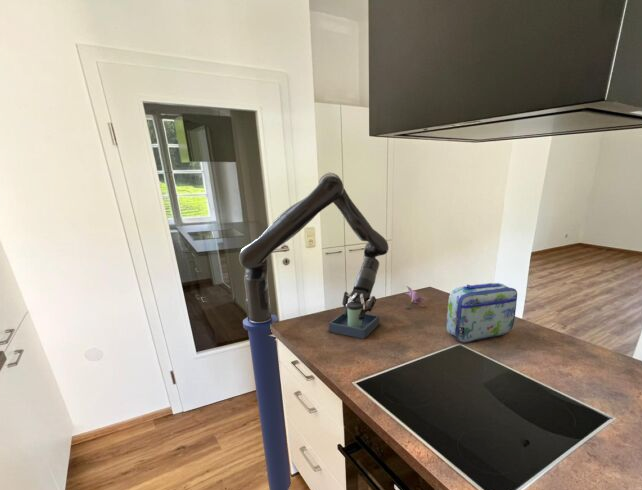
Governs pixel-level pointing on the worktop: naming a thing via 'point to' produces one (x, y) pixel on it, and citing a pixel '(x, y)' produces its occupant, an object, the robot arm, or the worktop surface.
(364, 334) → the blue square tray
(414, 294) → the lily
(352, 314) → the food flask
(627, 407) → the worktop surface
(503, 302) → the lunch box
